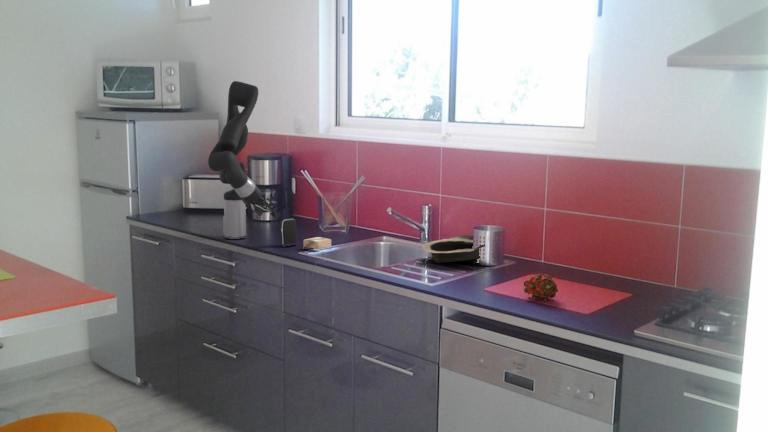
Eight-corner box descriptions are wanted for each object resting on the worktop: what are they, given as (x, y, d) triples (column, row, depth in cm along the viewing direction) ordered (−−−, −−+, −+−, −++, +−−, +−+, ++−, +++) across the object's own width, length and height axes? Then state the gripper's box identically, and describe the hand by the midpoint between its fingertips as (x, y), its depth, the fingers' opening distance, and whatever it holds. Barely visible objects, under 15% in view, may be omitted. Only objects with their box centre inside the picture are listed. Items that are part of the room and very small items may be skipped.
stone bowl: (500, 260, 274) (500, 237, 272) (464, 277, 255) (463, 252, 253) (446, 250, 289) (446, 228, 287) (408, 265, 270) (408, 242, 268)
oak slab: (303, 249, 292) (303, 239, 292) (316, 246, 299) (316, 236, 298) (318, 251, 288) (318, 241, 287) (331, 248, 294) (331, 238, 293)
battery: (291, 244, 303) (291, 217, 301) (297, 245, 300) (296, 218, 299) (278, 246, 298) (277, 219, 296) (283, 247, 295) (283, 220, 294)
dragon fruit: (555, 309, 215) (524, 306, 225) (568, 289, 219) (538, 286, 229) (542, 289, 212) (512, 286, 221) (556, 269, 216) (526, 267, 225)
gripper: (264, 183, 275) (286, 209, 286) (239, 180, 284) (261, 206, 295) (254, 198, 272) (276, 224, 283) (229, 195, 281) (251, 220, 291)
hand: (268, 215), depth 289 cm, fingers open, 8 cm apart
